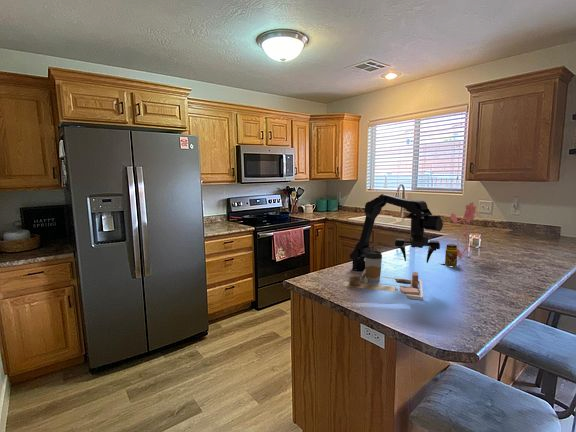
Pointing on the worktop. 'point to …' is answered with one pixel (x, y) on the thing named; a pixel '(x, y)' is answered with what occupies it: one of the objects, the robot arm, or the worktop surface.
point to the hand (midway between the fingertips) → (416, 261)
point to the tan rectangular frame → (413, 282)
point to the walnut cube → (354, 280)
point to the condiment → (451, 255)
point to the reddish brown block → (410, 291)
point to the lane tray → (408, 294)
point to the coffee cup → (373, 265)
